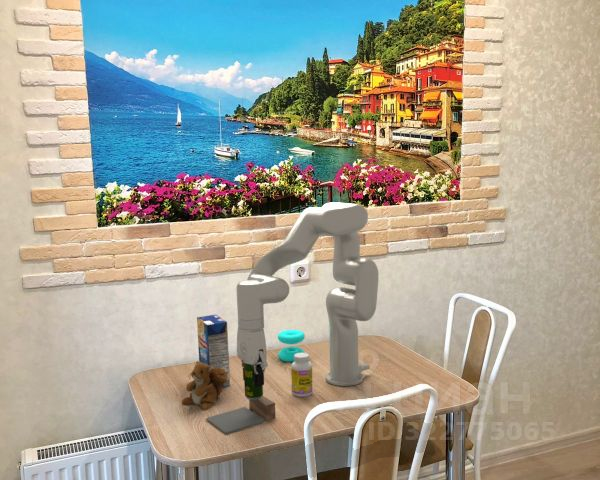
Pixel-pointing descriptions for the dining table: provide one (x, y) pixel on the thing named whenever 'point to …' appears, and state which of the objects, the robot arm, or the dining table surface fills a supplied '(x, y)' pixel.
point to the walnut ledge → (263, 407)
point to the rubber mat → (235, 420)
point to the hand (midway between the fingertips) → (253, 382)
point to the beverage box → (213, 343)
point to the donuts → (290, 338)
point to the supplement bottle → (301, 375)
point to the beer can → (251, 383)
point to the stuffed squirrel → (205, 385)
